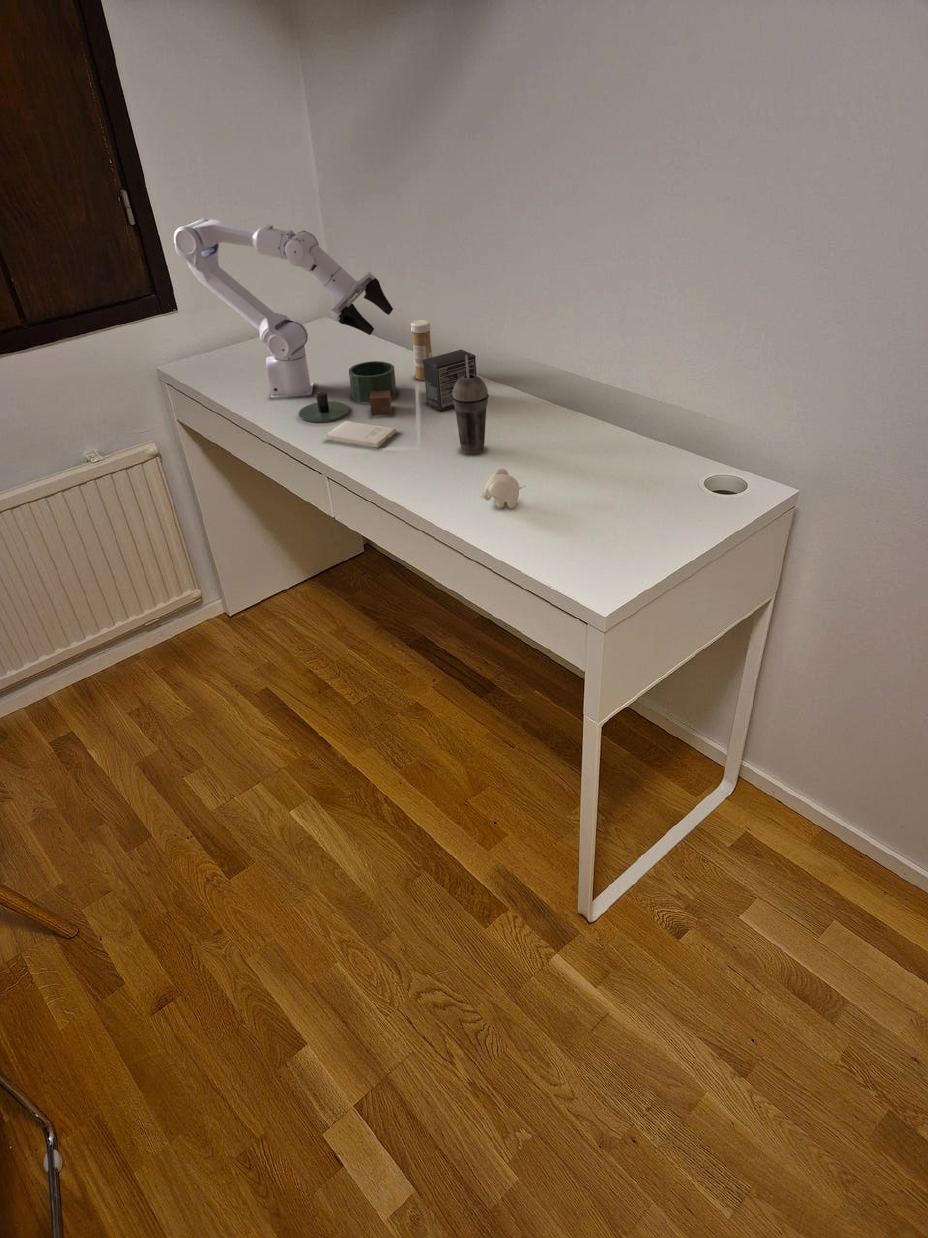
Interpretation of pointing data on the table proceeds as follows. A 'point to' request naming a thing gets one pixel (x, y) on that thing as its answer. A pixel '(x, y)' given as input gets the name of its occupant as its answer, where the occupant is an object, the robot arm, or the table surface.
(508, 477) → the elephant figurine
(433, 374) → the small box
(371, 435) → the hard drive
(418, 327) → the sprinkles bottle
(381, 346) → the table surface
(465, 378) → the beverage cup
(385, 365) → the green faceted bucket
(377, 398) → the block
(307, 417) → the lid
